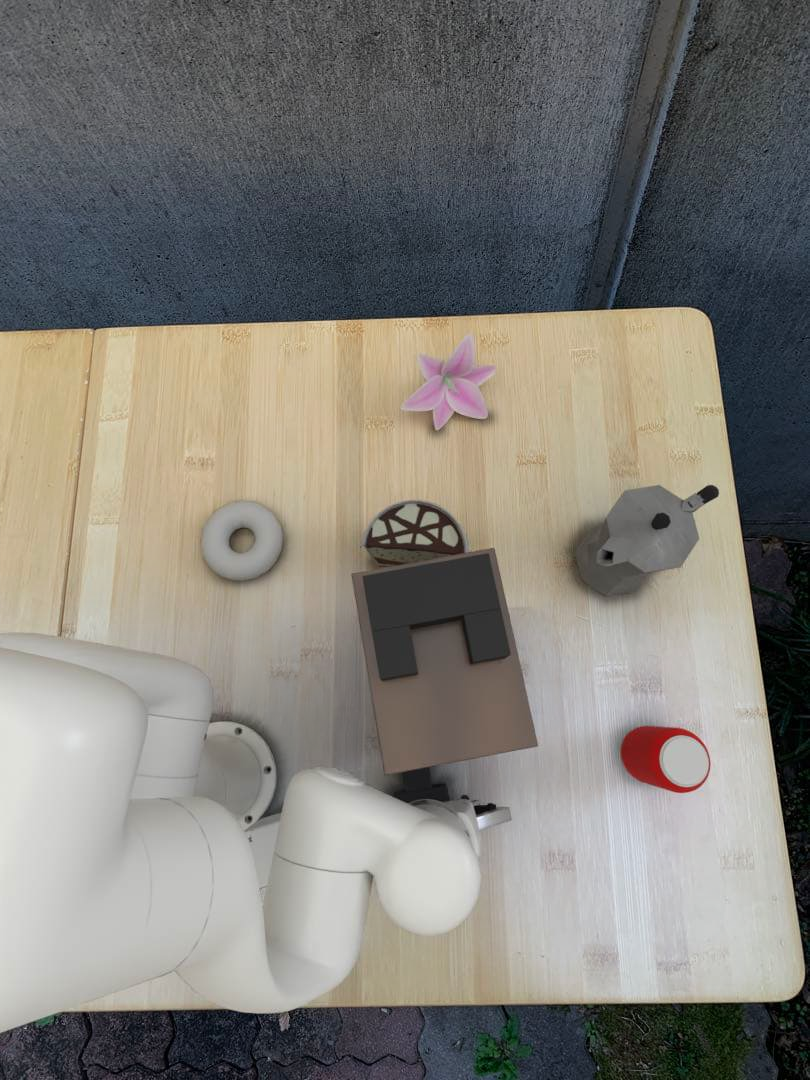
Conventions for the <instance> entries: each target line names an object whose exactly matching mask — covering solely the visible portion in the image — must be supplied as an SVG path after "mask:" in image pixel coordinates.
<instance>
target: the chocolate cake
mask: <svg viewBox="0 0 810 1080" xmlns="http://www.w3.org/2000/svg"><path fill="white" fill-rule="evenodd" d="M363 547H364V549H365V551H366V552H367V554H369V556H370V557H371V558H372V560H373V562H374V563H375V565H377V566H383V567H384V566H385V567H390V566H396V565H401V564H407V563H412V562H418V561H423V560H429V559H434V558H440V557H445V556H451V555H456V554H462V553H467V552H471V548H470V542H469V539H468V536H467V534H466V532H465V530H464V528H463V526H462V524H461V523H460V522H459V520H458V519H457V517H455V516H454V514H453V513H451V512H450V511H449V510H447V509H446V508H444V507H443V506H441V505H440V504H438V503H436V502H435V503H434V502H431V501H429V500H423V499H406V500H401V501H397V502H395V503H392V504H390V505H387V506H386V507H385V508H383V509H382V510H380V511H379V512H378V513H377V514H376V515H375V516H374V517H373V518H372V519H371V521H370V522H369V523H368V525H367V527H366V529H365V531H363V535H362V537H361V541H360V545H359V549H362V548H363Z"/></svg>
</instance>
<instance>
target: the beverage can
mask: <svg viewBox="0 0 810 1080" xmlns="http://www.w3.org/2000/svg"><path fill="white" fill-rule="evenodd" d="M620 758H621V761H622V764H623V766H624V768H625V770H626V771H627V773H628V774H629V775H630V776H631V777H632V778H634V779H635V780H637V781H639V782H640V783H643V784H646V785H649V786H654V787H657V788H660V789H663V790H666V791H669V792H672V793H676V794H677V793H678V794H686V793H691V792H694V791H696V790H698V789H699V788H700V787H702V786H703V784H705V782H706V781H707V779H708V777H709V775H710V771H711V757H710V754H709V751H708V748H707V746H706V745H705V744H704V742H703V741H702V740H701V739H700V737H699V736H698V735H696V734H695V733H694V732H692V731H690V730H688V729H685V728H682V727H670V726H656V725H642V726H638V727H635V728H633V729H631V730H630V731H629V732H628V733H627V734H626V735H625V737H624V738H623V740H622V744H621V747H620Z"/></svg>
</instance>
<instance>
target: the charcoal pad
mask: <svg viewBox="0 0 810 1080" xmlns="http://www.w3.org/2000/svg"><path fill="white" fill-rule="evenodd" d="M401 774H402V779H403V784H404V790H400V791H394V792H393V794H392V797H394V798H396V799H399V800H401V801H403V802H405V803H410V802H413V801H416V800H421V799H432V800H437V801H440V802H446V801H450V796H449V792H448V787H447V783H446V782H442V783H436V784H433V781H432V776H431V769H430V767H428V768H422V769H417V770H412V771H407V772H401Z"/></svg>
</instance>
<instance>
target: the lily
mask: <svg viewBox="0 0 810 1080" xmlns="http://www.w3.org/2000/svg"><path fill="white" fill-rule="evenodd" d="M476 354H477V353H476V343H475V338H474V335H473V334H472V332H469V333H467V334H466V335H465V336H464V337H463V338H462V340H461V341H460V342H459V344H458V345H457V346H456V347H455V348H454V350H452V352H451V354H450V355H449V356H448V358H447V359H446V360H445V361H444V360H443V359H439V358H437V357H433V356H431V355H426V354H421V353H419V354H417V355H416V359H417V363H418V366H419V369H420V371H421V373H422V375H423V377H424V379H425V382H424V383H423V384H422V385H421V386H420V387H419V388H418V389H416V390H415V391H414V392H413V393H412V394H411V395H410V396H408V397H407V398H406V399H405V400H404V401H403V402H402V403H401V405H400V407H399V409H401V410H403V411H408V412H427V411H432V416H433V418H432V419H433V427H434V429H435V431H439V430H440V429H442V428H443V427H444V426H445V424H446V423H447V422H448V421H449V419H451V417H452V416H453V414H454V412H455V413H457V414H459V415H462V416H465V417H468V418H473V419H478V420H485V419H487V418H488V416H489V414H488V413H489V412H488V407H487V404H486V401H485V398H484V396H483V393H482V391H481V390H480V388H479V387H480V386H482V385H483V384H484V383H485V382H486V381H488V380H489V379H490V378H491V377H492V376H493V375H494V374H495V373H496V372H497V371H498V369H499V366H498V365H493V364H480V365H479V364H476V360H477V359H476V356H477V355H476Z"/></svg>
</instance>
